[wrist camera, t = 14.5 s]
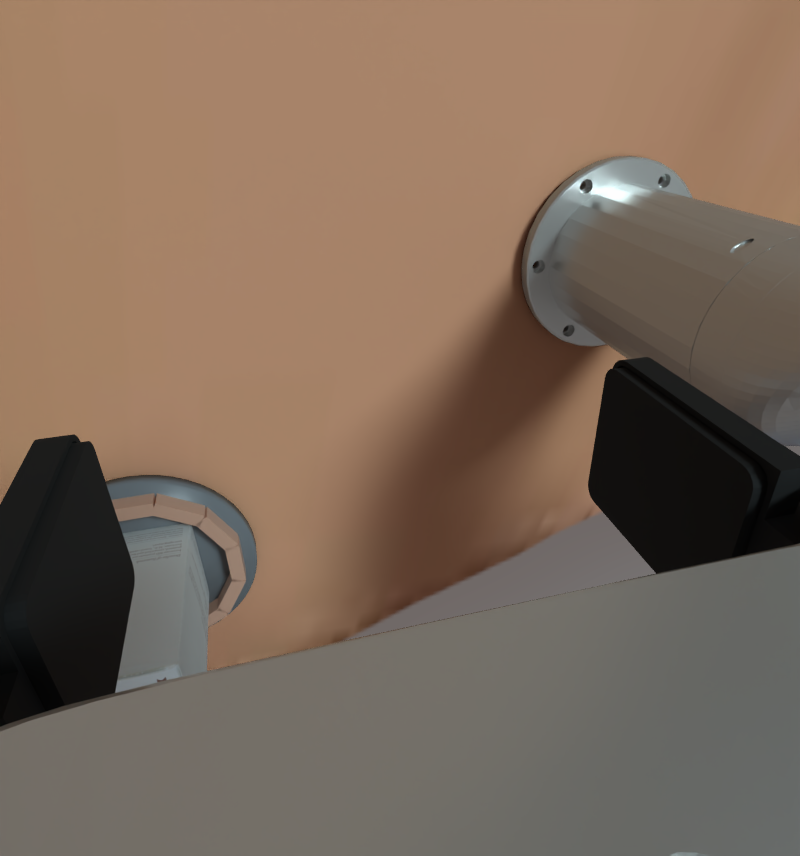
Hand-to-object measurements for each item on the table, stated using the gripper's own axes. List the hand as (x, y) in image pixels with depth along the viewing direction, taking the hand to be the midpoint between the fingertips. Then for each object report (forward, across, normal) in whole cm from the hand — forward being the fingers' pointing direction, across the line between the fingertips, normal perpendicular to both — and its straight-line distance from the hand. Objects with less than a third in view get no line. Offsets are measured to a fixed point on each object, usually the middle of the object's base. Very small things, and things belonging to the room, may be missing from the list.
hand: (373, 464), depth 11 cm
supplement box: (+28, +12, +24) cm, 39 cm away
